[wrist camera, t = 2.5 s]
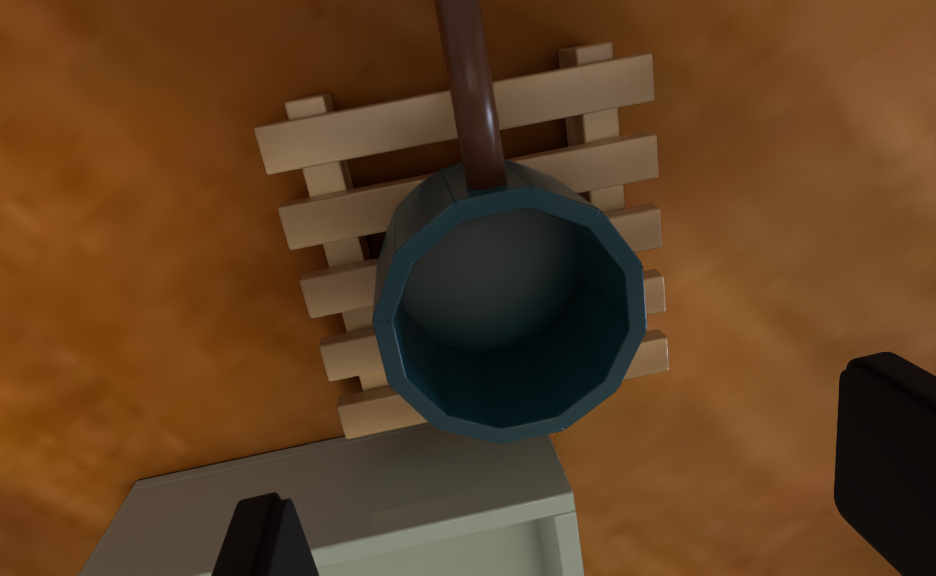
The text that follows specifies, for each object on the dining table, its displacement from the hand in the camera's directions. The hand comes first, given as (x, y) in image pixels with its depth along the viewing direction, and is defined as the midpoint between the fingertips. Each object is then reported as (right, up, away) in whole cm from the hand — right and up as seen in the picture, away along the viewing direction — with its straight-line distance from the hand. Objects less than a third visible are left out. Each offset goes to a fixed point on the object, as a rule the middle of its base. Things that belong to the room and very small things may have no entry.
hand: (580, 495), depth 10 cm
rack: (-2, +5, +12) cm, 14 cm away
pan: (-2, +7, +9) cm, 11 cm away
